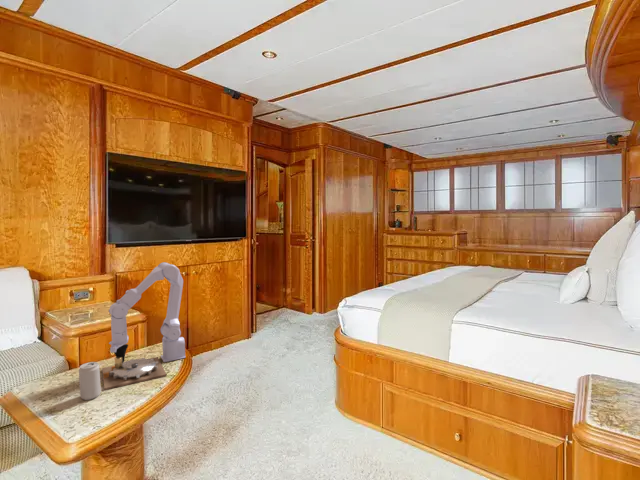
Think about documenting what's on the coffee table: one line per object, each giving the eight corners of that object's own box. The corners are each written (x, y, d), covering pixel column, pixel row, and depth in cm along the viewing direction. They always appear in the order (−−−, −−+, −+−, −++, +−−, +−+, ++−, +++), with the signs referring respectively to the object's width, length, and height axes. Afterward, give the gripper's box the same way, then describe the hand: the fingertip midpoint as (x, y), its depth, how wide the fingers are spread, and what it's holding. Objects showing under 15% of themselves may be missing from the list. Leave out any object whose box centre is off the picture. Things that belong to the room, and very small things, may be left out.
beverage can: (104, 392, 137) (103, 361, 136) (92, 401, 131) (90, 369, 130) (88, 391, 138) (87, 360, 137) (76, 400, 132) (74, 368, 131)
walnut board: (157, 358, 168) (157, 353, 168) (166, 376, 151) (166, 370, 151) (102, 369, 157) (101, 364, 156) (104, 390, 139) (104, 384, 139)
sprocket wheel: (164, 360, 164) (164, 348, 163) (148, 379, 145) (148, 365, 145) (122, 361, 162) (121, 349, 162) (101, 380, 144) (100, 367, 144)
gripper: (115, 326, 161) (117, 356, 162) (101, 337, 146) (103, 370, 148) (133, 325, 162) (134, 355, 163) (120, 336, 148) (122, 369, 149)
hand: (120, 362), depth 155 cm, fingers closed
